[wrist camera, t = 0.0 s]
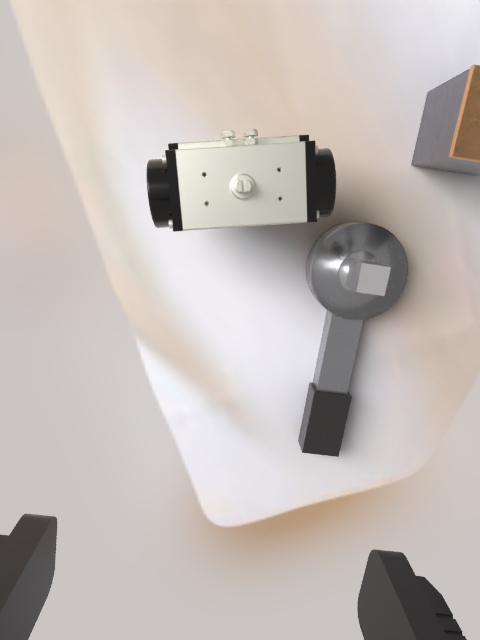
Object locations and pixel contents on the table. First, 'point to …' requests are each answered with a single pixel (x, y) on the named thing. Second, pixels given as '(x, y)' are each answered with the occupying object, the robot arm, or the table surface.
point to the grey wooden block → (451, 126)
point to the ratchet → (346, 318)
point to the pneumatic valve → (241, 182)
